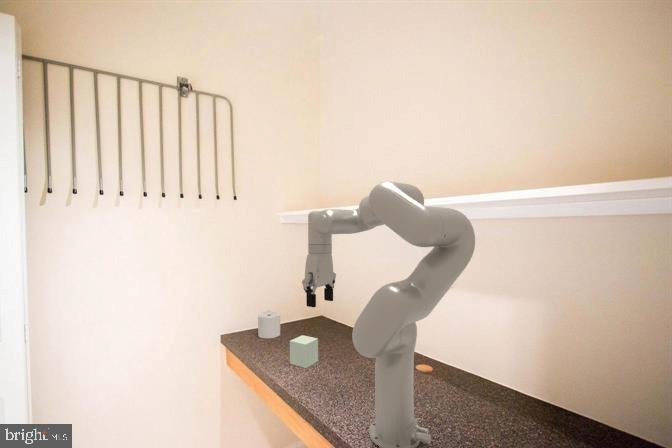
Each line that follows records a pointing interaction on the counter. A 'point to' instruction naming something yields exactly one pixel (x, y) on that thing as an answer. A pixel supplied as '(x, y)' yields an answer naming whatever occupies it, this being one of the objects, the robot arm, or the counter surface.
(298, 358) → the pale sage cube
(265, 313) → the toilet tissue
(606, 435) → the counter surface
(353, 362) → the counter surface
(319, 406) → the counter surface
